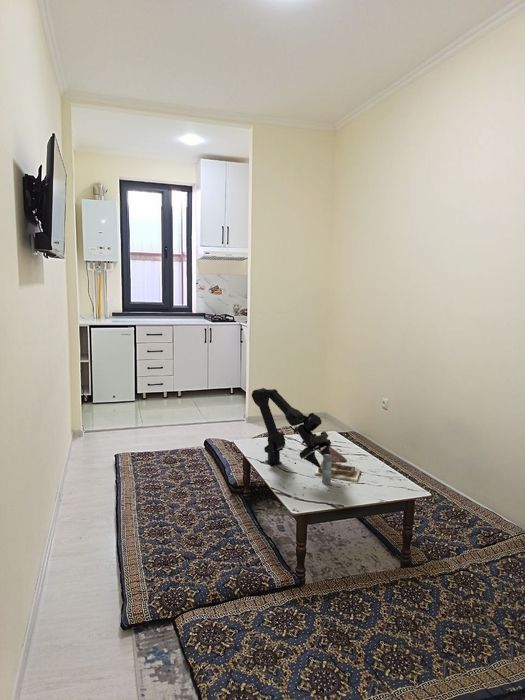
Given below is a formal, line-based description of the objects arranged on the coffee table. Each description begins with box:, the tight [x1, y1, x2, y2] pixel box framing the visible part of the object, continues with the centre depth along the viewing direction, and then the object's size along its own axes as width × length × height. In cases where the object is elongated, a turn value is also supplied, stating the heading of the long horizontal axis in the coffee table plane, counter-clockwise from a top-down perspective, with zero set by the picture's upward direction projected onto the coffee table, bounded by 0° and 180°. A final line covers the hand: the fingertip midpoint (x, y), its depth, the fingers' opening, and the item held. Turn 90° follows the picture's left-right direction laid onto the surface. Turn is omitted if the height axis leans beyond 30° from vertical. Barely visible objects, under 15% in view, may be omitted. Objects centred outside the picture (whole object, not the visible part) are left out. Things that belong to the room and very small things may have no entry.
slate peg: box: [321, 454, 332, 485], centre depth 219 cm, size 4×4×13 cm
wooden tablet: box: [317, 446, 348, 463], centre depth 256 cm, size 26×2×10 cm
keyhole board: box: [314, 460, 362, 483], centre depth 230 cm, size 20×13×3 cm, turn 71°
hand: (325, 464), depth 219 cm, fingers open, 9 cm apart
